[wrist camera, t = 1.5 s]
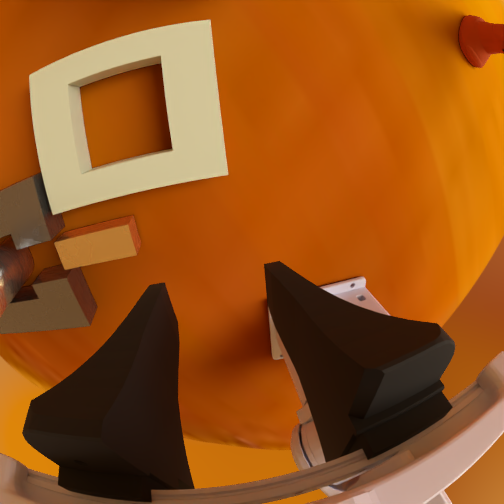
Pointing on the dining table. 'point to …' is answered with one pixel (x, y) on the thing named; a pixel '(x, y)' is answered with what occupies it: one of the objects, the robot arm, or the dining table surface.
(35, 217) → the socket block
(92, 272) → the dining table surface
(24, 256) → the shiny metal cylinder
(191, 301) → the dining table surface
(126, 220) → the drift key
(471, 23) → the toy drill
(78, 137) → the cream flat rectangular frame
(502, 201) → the dining table surface
